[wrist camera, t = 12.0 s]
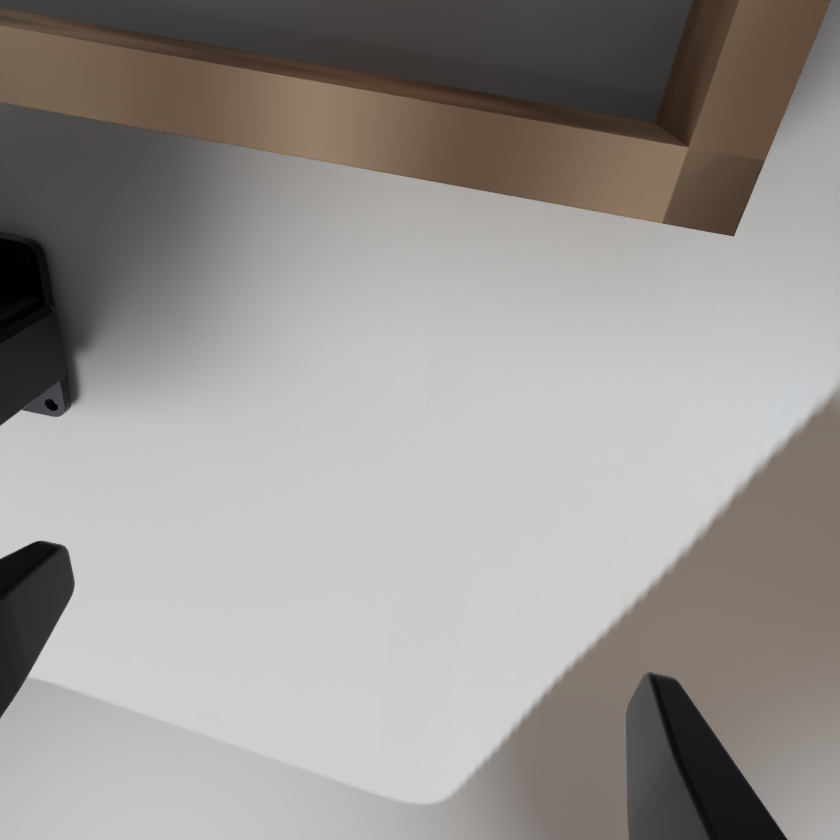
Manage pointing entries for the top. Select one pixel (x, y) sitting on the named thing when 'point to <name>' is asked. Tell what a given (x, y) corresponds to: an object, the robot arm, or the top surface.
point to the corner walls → (449, 111)
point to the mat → (436, 41)
